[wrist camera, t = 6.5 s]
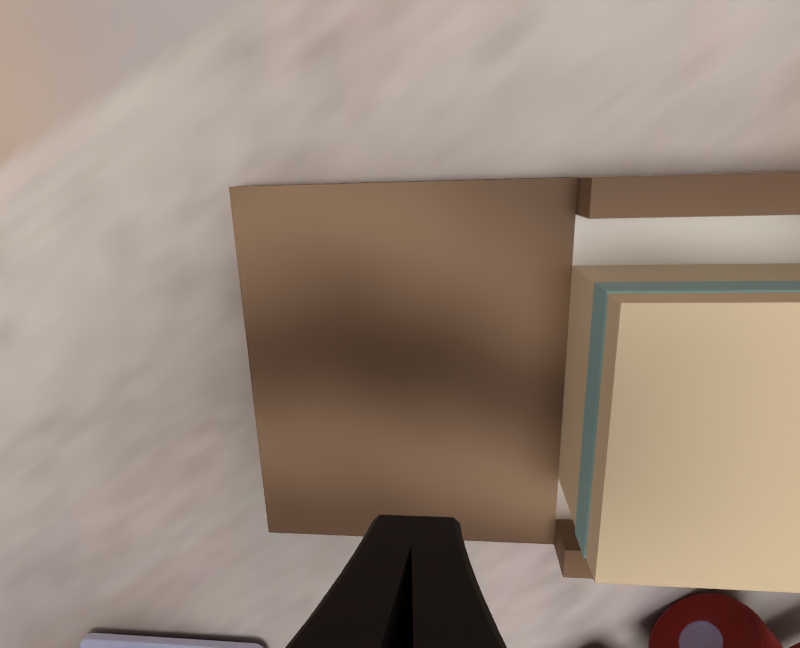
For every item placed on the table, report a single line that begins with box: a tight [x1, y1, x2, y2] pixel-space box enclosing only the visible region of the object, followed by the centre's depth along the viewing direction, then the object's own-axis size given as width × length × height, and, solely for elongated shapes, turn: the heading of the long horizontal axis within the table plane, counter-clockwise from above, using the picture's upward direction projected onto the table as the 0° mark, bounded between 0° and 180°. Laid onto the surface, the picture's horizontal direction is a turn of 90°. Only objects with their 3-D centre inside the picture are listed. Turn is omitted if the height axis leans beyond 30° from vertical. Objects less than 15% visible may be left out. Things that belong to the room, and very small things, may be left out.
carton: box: [558, 263, 800, 593], centre depth 13 cm, size 7×7×4 cm
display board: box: [229, 171, 800, 579], centre depth 15 cm, size 12×18×4 cm, turn 92°
